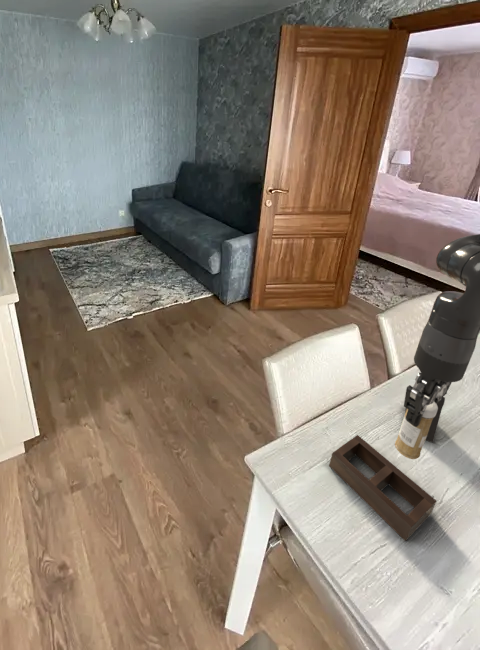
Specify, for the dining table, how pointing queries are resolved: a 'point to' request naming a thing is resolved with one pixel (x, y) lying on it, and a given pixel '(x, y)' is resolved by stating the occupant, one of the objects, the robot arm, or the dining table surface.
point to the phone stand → (434, 421)
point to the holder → (382, 486)
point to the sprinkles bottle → (415, 433)
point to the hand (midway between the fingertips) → (418, 417)
